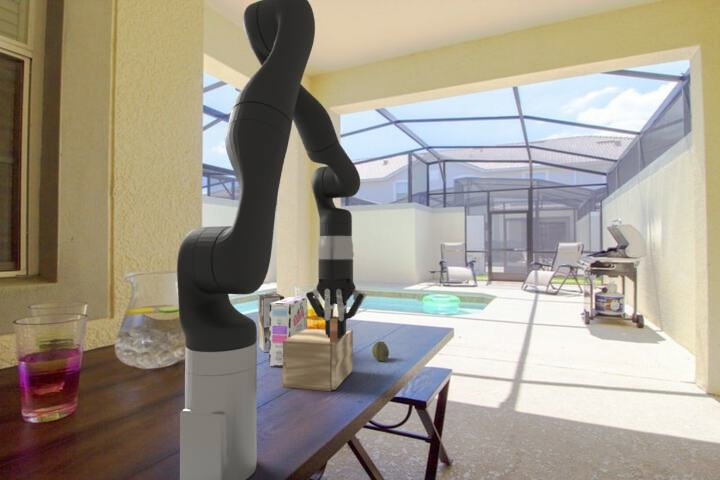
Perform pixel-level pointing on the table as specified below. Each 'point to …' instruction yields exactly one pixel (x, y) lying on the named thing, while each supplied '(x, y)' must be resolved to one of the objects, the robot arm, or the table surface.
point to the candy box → (285, 325)
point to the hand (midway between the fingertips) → (335, 337)
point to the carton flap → (340, 354)
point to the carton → (307, 360)
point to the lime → (380, 351)
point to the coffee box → (265, 318)
